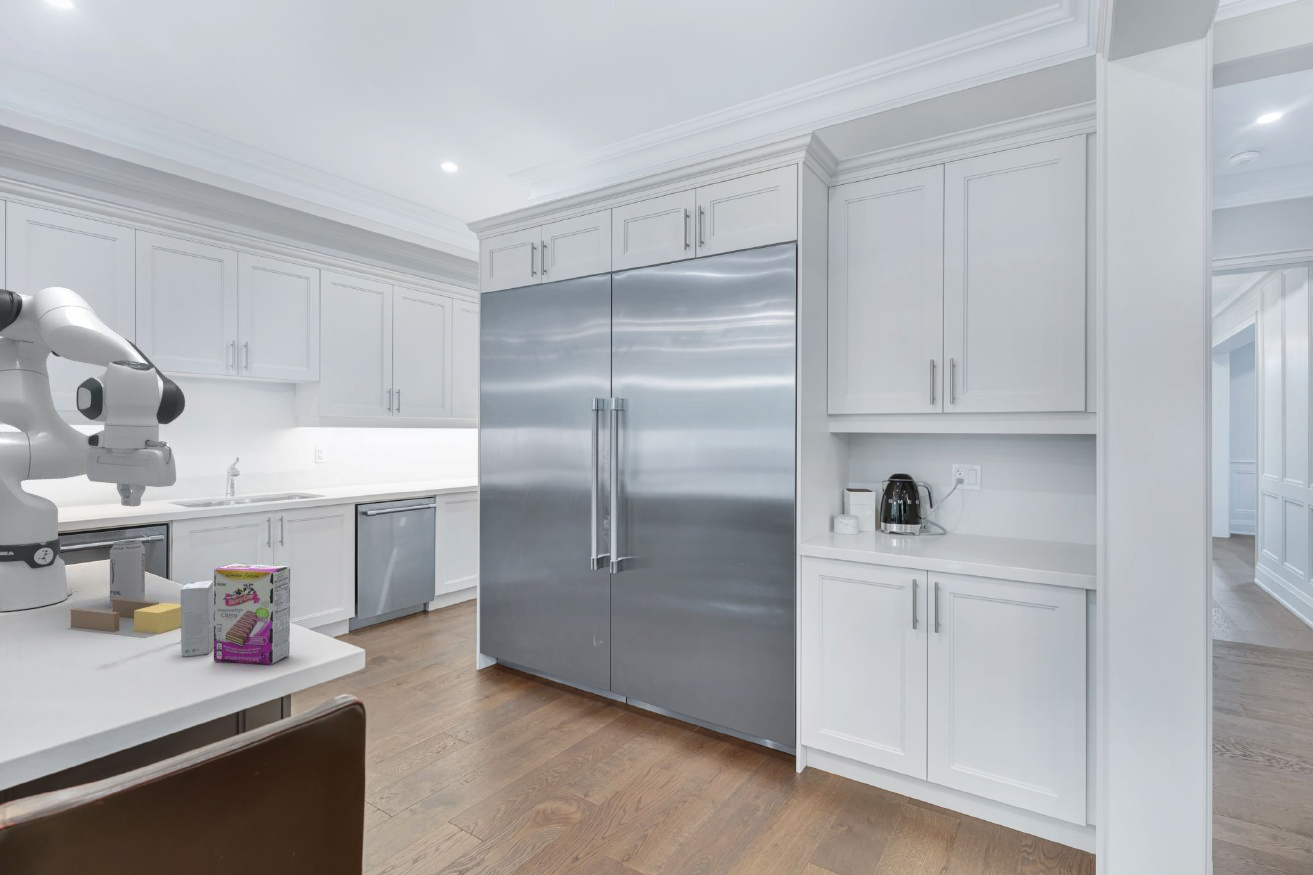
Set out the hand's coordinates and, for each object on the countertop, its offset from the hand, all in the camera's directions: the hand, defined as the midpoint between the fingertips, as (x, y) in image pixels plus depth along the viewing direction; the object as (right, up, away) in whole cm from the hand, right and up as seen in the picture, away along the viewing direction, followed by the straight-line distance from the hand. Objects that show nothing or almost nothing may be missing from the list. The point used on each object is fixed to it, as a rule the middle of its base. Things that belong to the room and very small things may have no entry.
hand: (130, 505), depth 135 cm
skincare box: (+26, -25, -17) cm, 40 cm away
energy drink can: (-8, -24, +9) cm, 27 cm away
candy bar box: (+38, -25, -21) cm, 50 cm away
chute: (+5, -24, -6) cm, 25 cm away
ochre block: (+12, -23, -7) cm, 27 cm away
